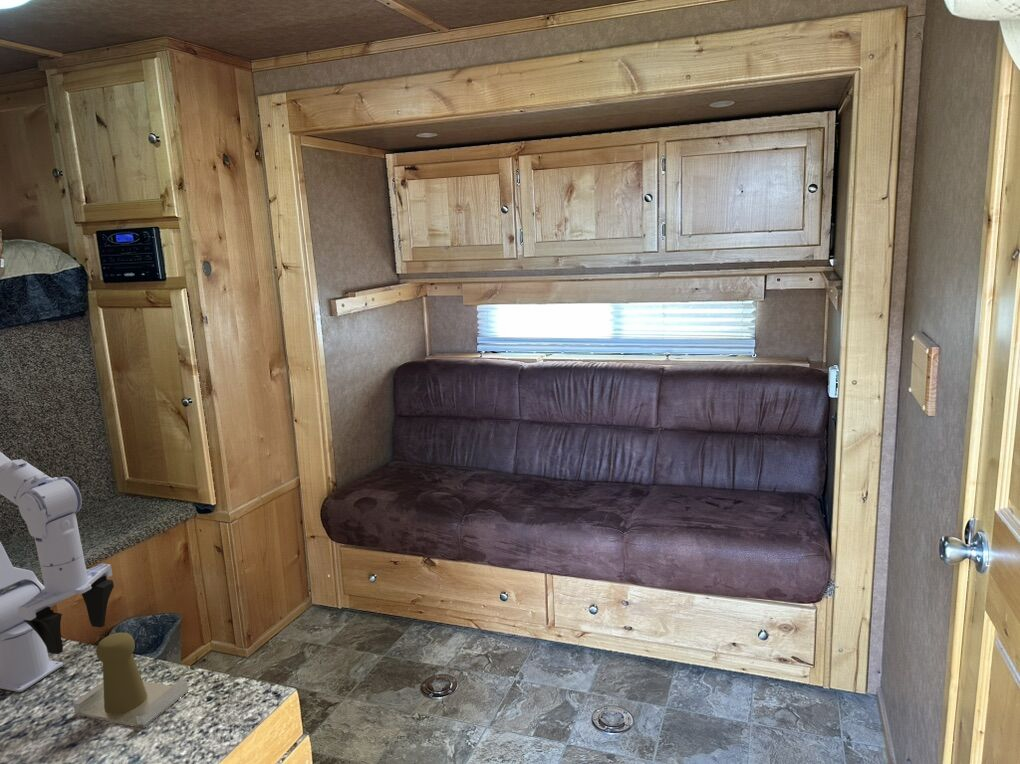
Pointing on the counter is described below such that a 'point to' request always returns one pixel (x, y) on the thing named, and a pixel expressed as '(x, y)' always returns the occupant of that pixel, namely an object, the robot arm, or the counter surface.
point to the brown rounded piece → (120, 674)
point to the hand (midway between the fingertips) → (77, 638)
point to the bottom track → (140, 716)
